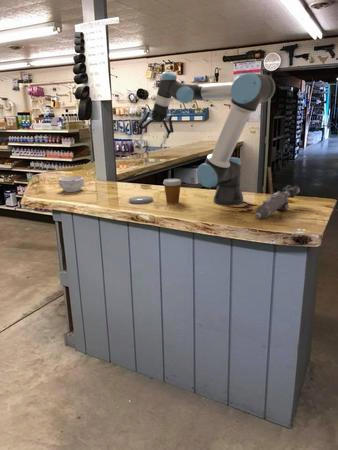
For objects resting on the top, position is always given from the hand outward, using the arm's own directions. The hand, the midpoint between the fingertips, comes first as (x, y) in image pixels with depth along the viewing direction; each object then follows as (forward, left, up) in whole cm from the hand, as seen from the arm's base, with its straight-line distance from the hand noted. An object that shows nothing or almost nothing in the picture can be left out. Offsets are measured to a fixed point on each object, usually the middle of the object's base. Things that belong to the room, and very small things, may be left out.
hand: (152, 141), depth 201 cm
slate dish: (+3, +13, -30) cm, 33 cm away
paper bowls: (+57, -3, -31) cm, 64 cm away
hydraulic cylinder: (-68, +19, -31) cm, 77 cm away
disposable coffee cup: (-15, +13, -30) cm, 36 cm away
